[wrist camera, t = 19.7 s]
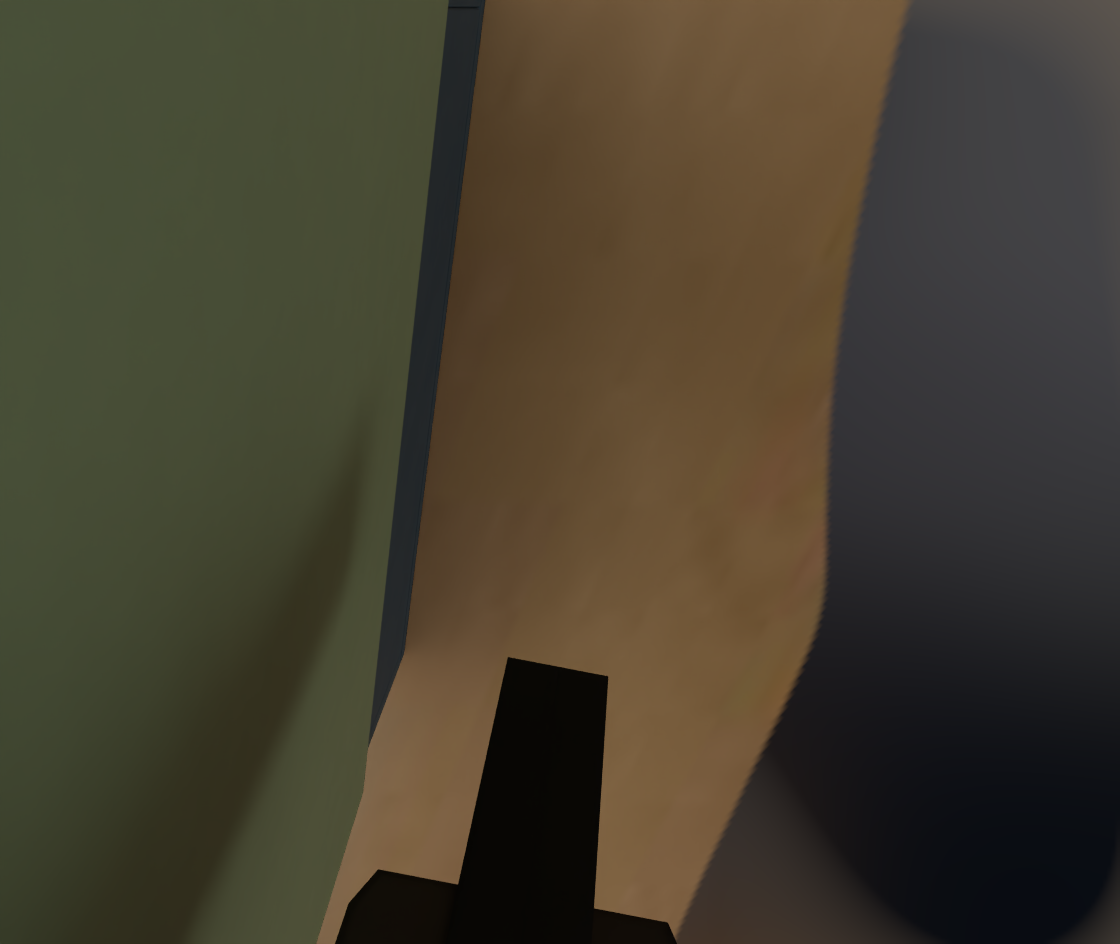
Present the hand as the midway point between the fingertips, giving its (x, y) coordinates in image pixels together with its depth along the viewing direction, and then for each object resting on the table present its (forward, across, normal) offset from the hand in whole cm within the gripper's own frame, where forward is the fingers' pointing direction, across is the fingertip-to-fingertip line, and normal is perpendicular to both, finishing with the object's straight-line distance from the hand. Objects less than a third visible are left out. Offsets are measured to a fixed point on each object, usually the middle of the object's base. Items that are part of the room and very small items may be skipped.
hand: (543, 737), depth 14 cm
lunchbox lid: (0, -4, 0) cm, 4 cm away
